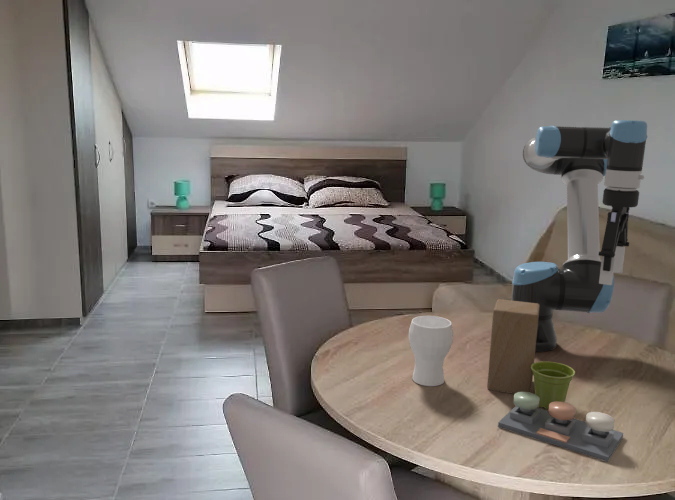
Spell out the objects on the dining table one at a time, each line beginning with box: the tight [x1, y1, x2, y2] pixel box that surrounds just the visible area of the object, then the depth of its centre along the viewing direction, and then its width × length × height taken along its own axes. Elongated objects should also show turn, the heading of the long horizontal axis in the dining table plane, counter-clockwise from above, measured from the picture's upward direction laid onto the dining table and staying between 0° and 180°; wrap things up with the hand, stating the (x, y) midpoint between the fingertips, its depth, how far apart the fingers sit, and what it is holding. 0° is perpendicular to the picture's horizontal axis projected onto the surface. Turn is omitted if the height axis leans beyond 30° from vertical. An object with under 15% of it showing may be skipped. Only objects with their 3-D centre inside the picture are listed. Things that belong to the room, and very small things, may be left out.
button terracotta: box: [547, 401, 577, 423], centre depth 131 cm, size 5×5×3 cm
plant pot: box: [531, 360, 576, 411], centre depth 144 cm, size 9×9×9 cm
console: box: [497, 405, 624, 462], centre depth 132 cm, size 22×12×2 cm, turn 54°
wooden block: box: [486, 298, 540, 394], centre depth 152 cm, size 10×10×20 cm
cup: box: [408, 315, 454, 387], centre depth 155 cm, size 11×11×15 cm
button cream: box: [585, 411, 615, 435], centre depth 127 cm, size 5×5×3 cm
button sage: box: [513, 392, 540, 413], centre depth 136 cm, size 5×5×3 cm
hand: (610, 278), depth 151 cm, fingers open, 13 cm apart
